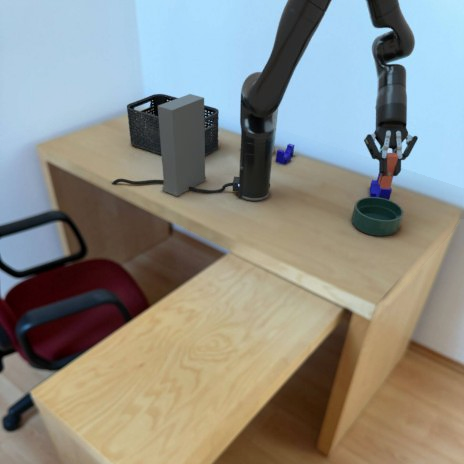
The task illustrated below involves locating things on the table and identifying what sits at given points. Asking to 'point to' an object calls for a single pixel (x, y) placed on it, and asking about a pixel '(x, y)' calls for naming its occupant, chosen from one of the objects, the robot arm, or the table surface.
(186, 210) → the table surface
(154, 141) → the storage bin
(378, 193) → the cable clip
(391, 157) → the clothespin
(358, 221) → the bowl
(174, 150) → the tall grey upright pillar
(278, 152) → the cable holder
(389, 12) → the robot arm
